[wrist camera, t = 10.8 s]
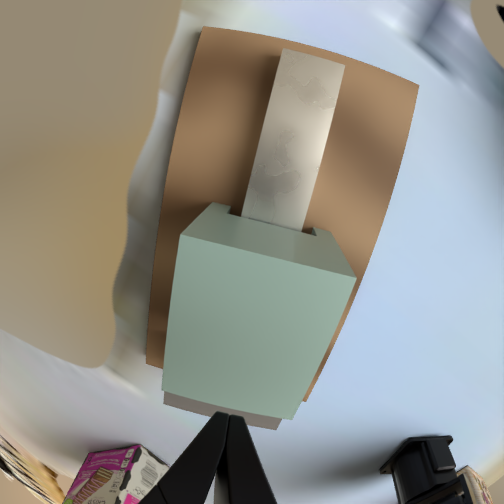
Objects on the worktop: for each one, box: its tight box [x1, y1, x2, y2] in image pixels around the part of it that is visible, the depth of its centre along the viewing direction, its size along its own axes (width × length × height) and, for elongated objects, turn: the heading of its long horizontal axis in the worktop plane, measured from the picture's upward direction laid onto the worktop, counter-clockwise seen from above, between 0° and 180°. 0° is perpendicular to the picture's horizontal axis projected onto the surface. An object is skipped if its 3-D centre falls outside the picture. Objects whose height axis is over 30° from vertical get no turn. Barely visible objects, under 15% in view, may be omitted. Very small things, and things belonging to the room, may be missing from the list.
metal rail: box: [241, 48, 345, 232], centre depth 16 cm, size 20×3×2 cm, turn 167°
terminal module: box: [162, 202, 357, 420], centre depth 15 cm, size 8×6×6 cm
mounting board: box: [146, 26, 419, 402], centre depth 18 cm, size 22×12×1 cm, turn 167°
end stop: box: [163, 391, 282, 430], centre depth 18 cm, size 2×7×4 cm, turn 77°
